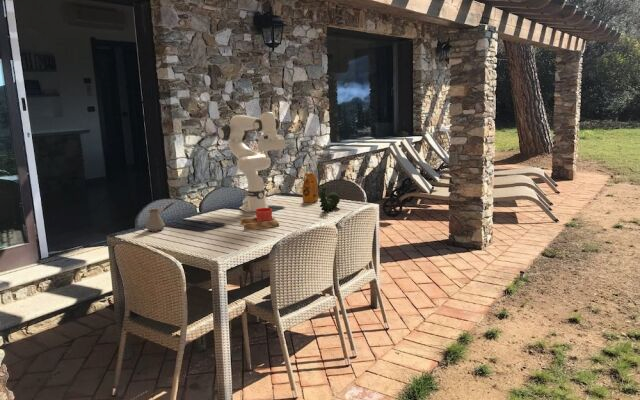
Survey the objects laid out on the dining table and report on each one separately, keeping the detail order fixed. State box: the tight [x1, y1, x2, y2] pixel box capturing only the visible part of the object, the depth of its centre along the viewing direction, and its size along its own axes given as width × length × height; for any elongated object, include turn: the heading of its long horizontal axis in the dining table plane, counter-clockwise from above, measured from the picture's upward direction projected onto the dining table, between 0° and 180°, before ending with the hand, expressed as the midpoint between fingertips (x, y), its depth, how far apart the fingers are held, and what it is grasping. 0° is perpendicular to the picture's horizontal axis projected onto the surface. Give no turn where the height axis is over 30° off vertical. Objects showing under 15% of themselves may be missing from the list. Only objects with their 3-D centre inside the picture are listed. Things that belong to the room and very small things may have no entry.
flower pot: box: [254, 207, 273, 222], centre depth 313 cm, size 11×11×10 cm
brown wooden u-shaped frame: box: [240, 216, 280, 231], centre depth 313 cm, size 22×17×4 cm
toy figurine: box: [318, 186, 341, 212], centre depth 347 cm, size 9×19×25 cm
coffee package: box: [301, 171, 319, 204], centre depth 378 cm, size 10×12×22 cm
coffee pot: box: [145, 202, 174, 232], centre depth 315 cm, size 21×12×15 cm, turn 144°
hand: (273, 157), depth 332 cm, fingers open, 8 cm apart
